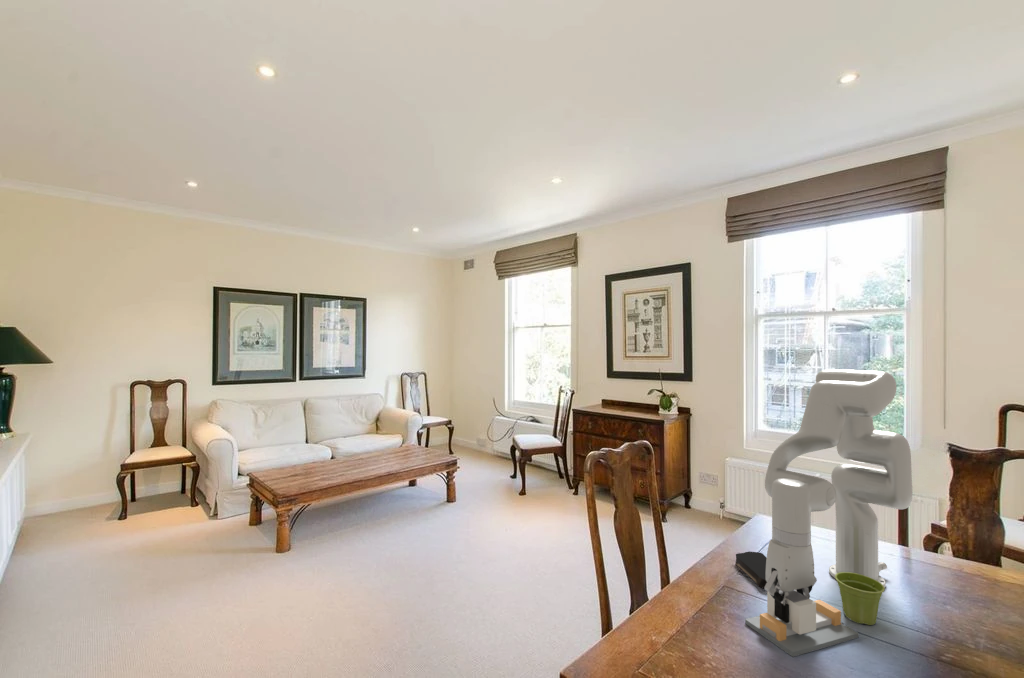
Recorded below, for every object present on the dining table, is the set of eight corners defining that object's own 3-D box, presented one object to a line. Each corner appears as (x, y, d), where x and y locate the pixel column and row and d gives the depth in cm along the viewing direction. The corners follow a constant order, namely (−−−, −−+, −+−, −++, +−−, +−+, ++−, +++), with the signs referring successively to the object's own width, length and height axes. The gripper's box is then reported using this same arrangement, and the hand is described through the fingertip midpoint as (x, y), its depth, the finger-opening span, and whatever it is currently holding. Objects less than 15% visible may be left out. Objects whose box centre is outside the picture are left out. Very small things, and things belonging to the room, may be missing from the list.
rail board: (807, 608, 112) (807, 591, 112) (858, 637, 100) (858, 619, 100) (745, 623, 105) (745, 606, 105) (792, 656, 94) (792, 637, 94)
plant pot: (872, 634, 101) (872, 595, 102) (827, 612, 110) (827, 576, 110) (893, 623, 106) (892, 586, 106) (847, 603, 114) (847, 568, 114)
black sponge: (794, 592, 120) (794, 578, 120) (762, 591, 120) (762, 577, 120) (759, 563, 136) (759, 550, 136) (731, 562, 136) (731, 550, 136)
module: (783, 610, 106) (783, 583, 107) (816, 630, 99) (816, 601, 99) (767, 613, 105) (767, 586, 105) (799, 634, 97) (799, 605, 97)
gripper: (802, 525, 109) (802, 601, 108) (748, 533, 103) (748, 614, 102) (834, 537, 101) (834, 619, 101) (777, 547, 96) (777, 634, 95)
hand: (791, 616), depth 102 cm, fingers closed on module, 5 cm apart
